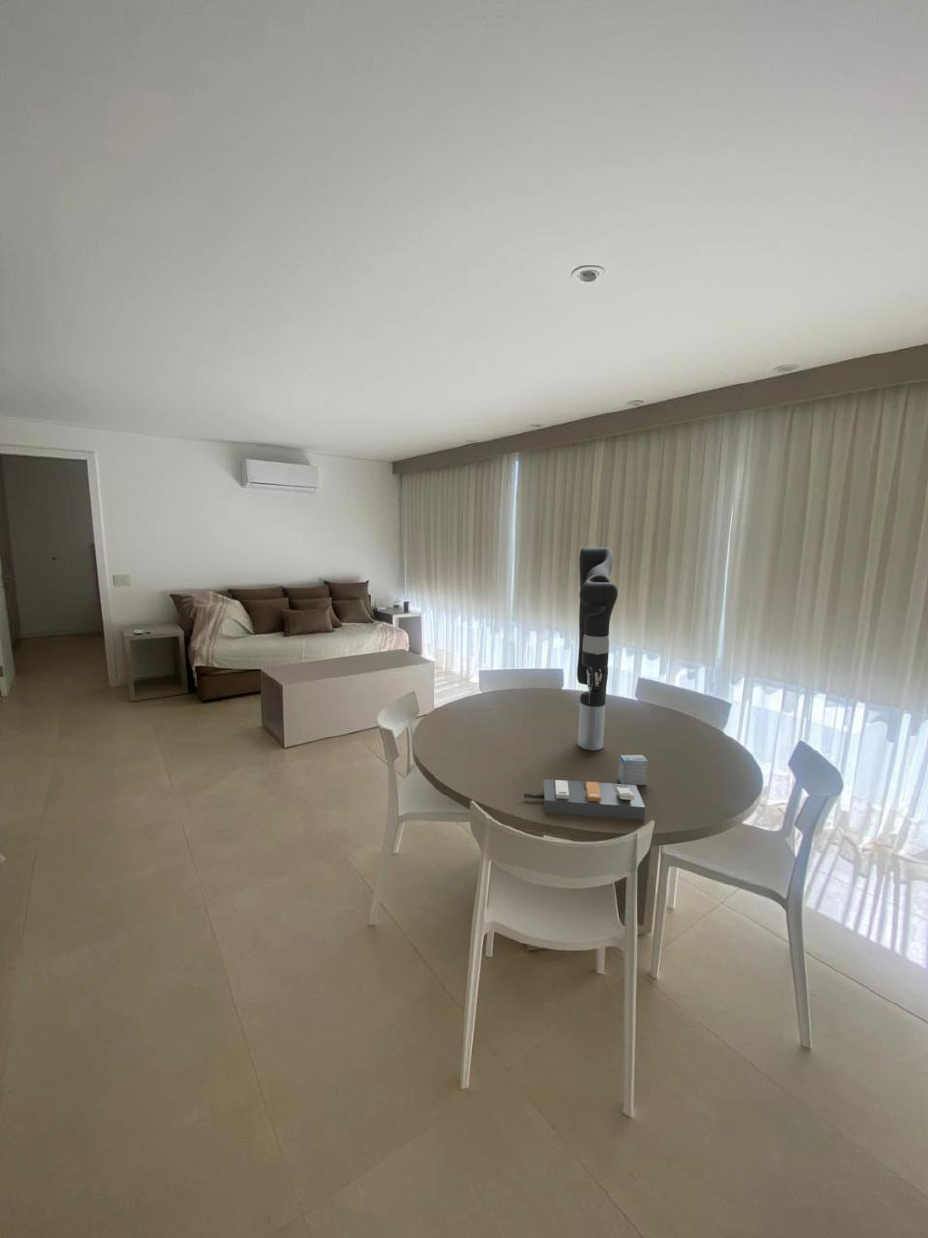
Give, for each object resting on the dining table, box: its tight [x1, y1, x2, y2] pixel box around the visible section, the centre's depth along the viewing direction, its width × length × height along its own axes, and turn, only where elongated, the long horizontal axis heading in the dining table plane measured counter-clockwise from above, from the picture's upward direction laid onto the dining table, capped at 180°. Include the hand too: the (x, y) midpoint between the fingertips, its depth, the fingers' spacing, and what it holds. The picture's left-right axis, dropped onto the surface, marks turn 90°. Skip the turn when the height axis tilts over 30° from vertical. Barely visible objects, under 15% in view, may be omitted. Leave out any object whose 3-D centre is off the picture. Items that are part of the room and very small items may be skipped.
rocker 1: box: [554, 779, 569, 799], centre depth 141 cm, size 6×4×2 cm, turn 173°
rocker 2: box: [585, 781, 601, 802], centre depth 140 cm, size 6×4×2 cm, turn 173°
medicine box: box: [617, 754, 649, 786], centre depth 156 cm, size 8×4×9 cm, turn 92°
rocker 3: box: [616, 787, 634, 800], centre depth 139 cm, size 6×4×2 cm, turn 173°
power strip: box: [523, 778, 646, 821], centre depth 144 cm, size 12×34×5 cm, turn 83°
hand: (592, 704), depth 145 cm, fingers closed
